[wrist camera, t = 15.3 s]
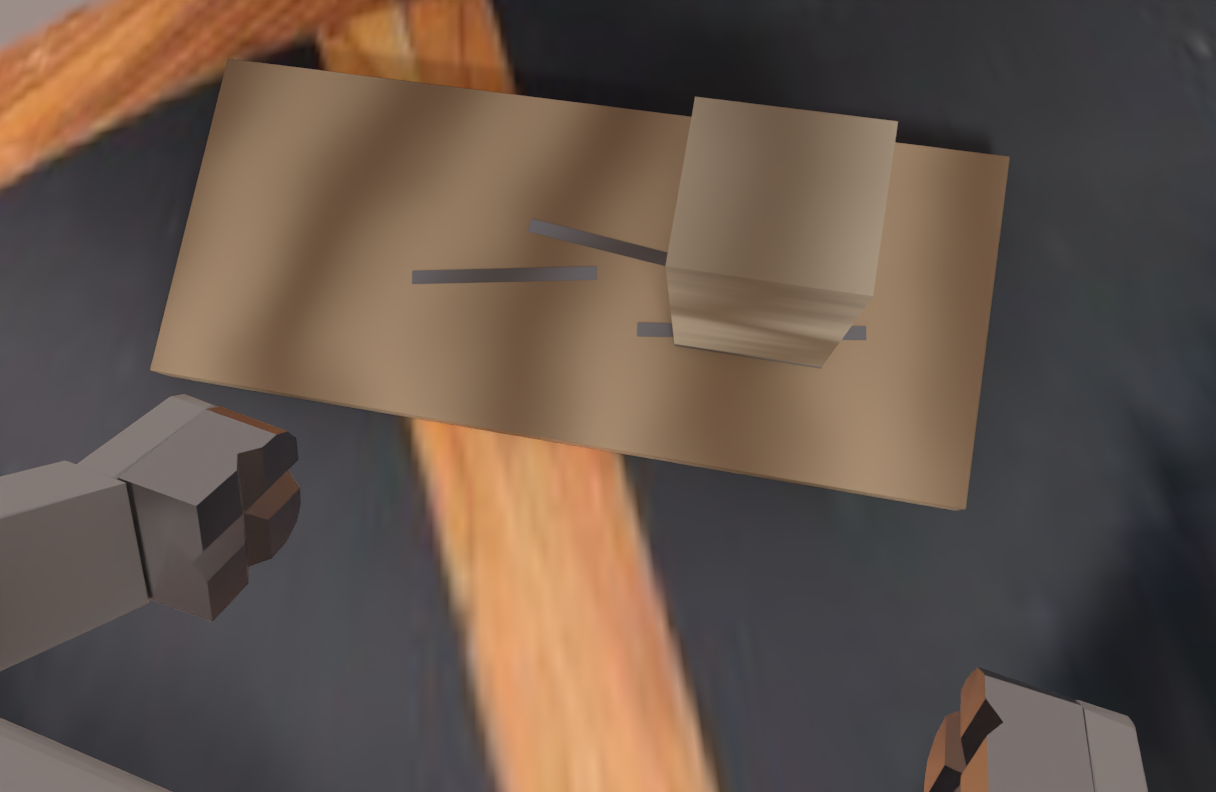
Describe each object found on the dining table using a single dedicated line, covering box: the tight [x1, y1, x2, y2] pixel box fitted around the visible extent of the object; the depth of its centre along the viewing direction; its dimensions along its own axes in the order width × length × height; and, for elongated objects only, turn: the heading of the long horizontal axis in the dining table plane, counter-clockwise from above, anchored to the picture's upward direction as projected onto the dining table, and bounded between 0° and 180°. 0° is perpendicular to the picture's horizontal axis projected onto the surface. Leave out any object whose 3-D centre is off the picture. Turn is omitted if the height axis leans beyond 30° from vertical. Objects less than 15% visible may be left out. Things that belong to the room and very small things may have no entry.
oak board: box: [150, 59, 1010, 510], centre depth 30 cm, size 26×11×1 cm, turn 80°
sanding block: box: [665, 97, 898, 369], centre depth 24 cm, size 4×4×8 cm
